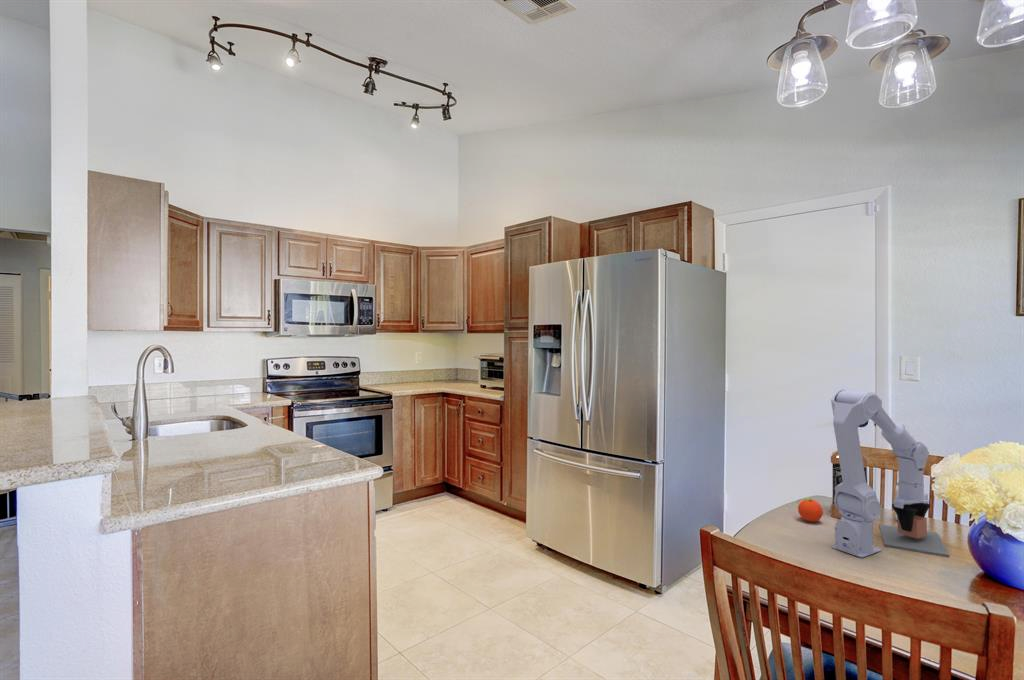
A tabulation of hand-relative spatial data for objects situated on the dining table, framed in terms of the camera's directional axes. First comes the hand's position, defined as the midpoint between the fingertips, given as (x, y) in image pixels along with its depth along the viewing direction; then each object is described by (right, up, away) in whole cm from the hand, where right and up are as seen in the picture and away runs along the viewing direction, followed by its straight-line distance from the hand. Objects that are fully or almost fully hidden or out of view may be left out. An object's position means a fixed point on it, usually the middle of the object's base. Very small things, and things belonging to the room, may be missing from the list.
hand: (911, 528), depth 145 cm
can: (+11, -4, +14) cm, 18 cm away
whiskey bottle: (-4, -4, +21) cm, 21 cm away
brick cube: (0, -2, 0) cm, 2 cm away
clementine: (-20, -4, +17) cm, 26 cm away
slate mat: (0, -3, 0) cm, 3 cm away
